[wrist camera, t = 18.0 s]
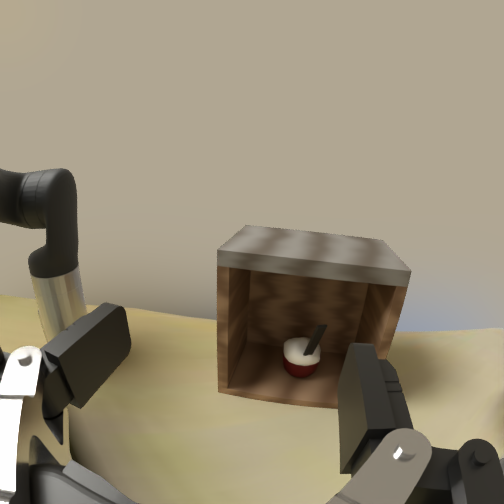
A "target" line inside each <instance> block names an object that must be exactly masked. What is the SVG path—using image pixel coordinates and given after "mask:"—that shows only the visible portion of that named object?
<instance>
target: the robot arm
mask: <svg viewBox="0 0 504 504" xmlns="http://www.w3.org/2000/svg"><path fill="white" fill-rule="evenodd" d="M0 222H2V223H7V224H12V225H16V226H20V227H24V228H29V229H45V228H46V245H45V246H43V247H41V248H39V249H37V250H35V251H34V252H32V253H31V254H30V256H29V259H28V264H29V269H30V274H31V279H32V284H33V288H34V292H35V297H36V301H37V304H38V308H39V310H38V314H39V318H40V321H41V325H42V328H43V331H44V334H45V337H46V340H47V344H46V345H44V346H43V347H42V348H41V349H38V348H36V347H34V346H24V347H21V348H18V349H17V350H15V351H14V352H12V354H10V353H6V352H2V349H1V347H0V504H139V503H135V502H133V501H132V500H130V499H129V498H127V497H126V496H125V495H123V494H122V493H121V492H120V491H118V490H117V489H116V488H115V487H113V486H112V485H111V484H110V483H108V482H107V481H106V480H105V479H104V478H102V477H101V476H99V475H97V474H95V473H94V472H92V471H90V470H88V469H86V468H85V467H83V466H81V465H80V464H78V463H76V462H75V461H73V460H72V458H71V455H70V449H69V426H68V410H67V408H66V406H67V405H68V404H69V403H70V404H72V405H74V406H76V407H78V408H80V409H81V408H82V407H83V406H84V405H85V404H86V403H87V401H88V400H89V399H90V398H91V397H92V396H93V394H94V393H95V392H96V391H97V390H98V389H99V388H100V386H101V385H102V384H103V383H104V382H105V381H106V379H107V378H108V377H109V376H110V375H111V374H112V373H113V372H114V370H115V369H116V368H117V367H118V366H119V365H120V364H121V362H122V361H123V360H124V359H125V358H126V357H127V356H128V354H129V352H130V349H131V338H130V333H129V327H128V322H127V316H126V311H125V309H124V308H123V307H122V306H118V305H114V304H110V303H103V304H101V305H100V306H99V307H97V308H96V309H95V310H94V311H92V312H91V313H89V314H87V309H86V304H85V300H84V294H83V289H82V283H81V278H80V272H79V265H78V256H77V255H78V228H77V190H76V184H75V180H74V177H73V175H72V174H71V172H70V171H69V170H67V169H62V168H60V169H50V170H43V171H36V172H29V173H16V172H11V171H6V170H2V169H0ZM337 398H338V414H339V437H340V474H351V478H352V479H351V480H350V481H349V482H348V483H347V484H346V485H345V486H344V487H343V489H342V490H341V491H340V492H339V493H337V494H336V495H335V496H334V497H333V498H331V499H330V500H329V501H328V502H327V503H326V504H504V474H503V470H502V467H501V464H500V460H499V457H498V454H497V452H496V450H495V448H494V447H493V446H492V445H491V444H490V443H489V442H487V441H485V440H482V439H472V440H469V441H467V442H466V443H465V444H464V445H463V446H462V447H461V448H460V449H459V450H450V449H442V448H436V447H432V446H431V444H430V442H429V440H428V439H427V438H426V437H425V436H424V435H423V434H422V433H420V432H418V431H416V430H414V428H413V425H412V421H411V418H410V414H409V411H408V407H407V404H406V401H405V398H404V394H403V393H402V388H401V385H400V383H399V379H398V376H397V373H396V370H395V369H394V367H393V366H392V365H391V364H390V363H389V362H388V361H387V360H386V359H378V357H377V353H376V350H375V347H374V345H373V344H366V343H350V345H349V348H348V351H347V355H346V358H345V361H344V365H343V368H342V371H341V374H340V378H339V382H338V389H337Z"/></svg>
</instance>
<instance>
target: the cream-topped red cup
mask: <svg viewBox="0 0 504 504" xmlns="http://www.w3.org/2000/svg"><path fill="white" fill-rule="evenodd" d="M327 326H328V325H326V324H324V325H317V326H316V328H315V330H314V332H313V335H312V337H311V339H309V338H307V337H300V338H292V339H288V340H287V341H286V342H284V348H283V365H284V369H285V370H286V371H287V372H288V373H289V374H290V375H292V376H294V377H299V378H303V377H307V376H309V375H311V374H312V373H314V372H315V370H316V368H317V366H318V364H319V362H320V359H321V355H320V353H321V349H320V345H319V342H320V340H321V338H322V336H323V334H324V332H325V330H326V328H327Z"/></svg>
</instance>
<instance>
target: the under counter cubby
mask: <svg viewBox="0 0 504 504" xmlns="http://www.w3.org/2000/svg"><path fill="white" fill-rule="evenodd" d="M410 275H411V270H410V269H409V268H408V267H407V266H406V264H404V262H403V261H402V260H401V259H400V258H399V257H398V256H397V255H396V254H395V253H394V251H393V250H392V249H391V248H390V247H389V246H388V245H387V244H386V243H385V242H384V241H383V240H377V239H370V238H362V237H353V236H345V235H336V234H328V233H319V232H309V231H300V230H290V229H281V228H270V227H260V226H250V225H246V226H245V227H243V228H242V229H241V230H240V231H239V232H238V233H236V234H235V235H234V236H233V237H232V238H231V239H229V240H228V241H227V242H226V243H225V244H223V245H222V246H221V247H220V248H219V249H218V250H217V363H218V392H221V393H225V394H230V395H235V396H240V397H246V398H251V399H257V400H263V401H270V402H277V403H284V404H292V405H300V406H310V407H321V408H335V409H338V398H337V389H338V382H339V378H340V374H341V371H342V368H343V365H344V361H345V358H346V355H347V351H348V348H349V345H350V343H366V344H373V345H374V347H375V350H376V353H377V357H378V359H386V356H387V354H388V351H389V348H390V345H391V342H392V339H393V336H394V333H395V330H396V327H397V323H398V320H399V317H400V314H401V310H402V307H403V303H404V299H405V296H406V292H407V288H408V284H409V279H410ZM324 324H326V325H328V326H327V328H326V330H325V332H324V334H323V336H322V338H321V340H320V342H319V345H320V349H321V353H320V355H321V359H320V362H319V364H318V366H317V368H316V370H315V372H314V373H312V374H311V375H309V376H307V377H303V378H299V377H294V376H292V375H290V374H289V373H288V372H287V371H286V370H285V369H284V365H283V348H284V342H286V341H287V340H288V339H292V338H300V337H307V338H309V339H311V337H312V335H313V332H314V330H315V328H316V326H317V325H324Z"/></svg>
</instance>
